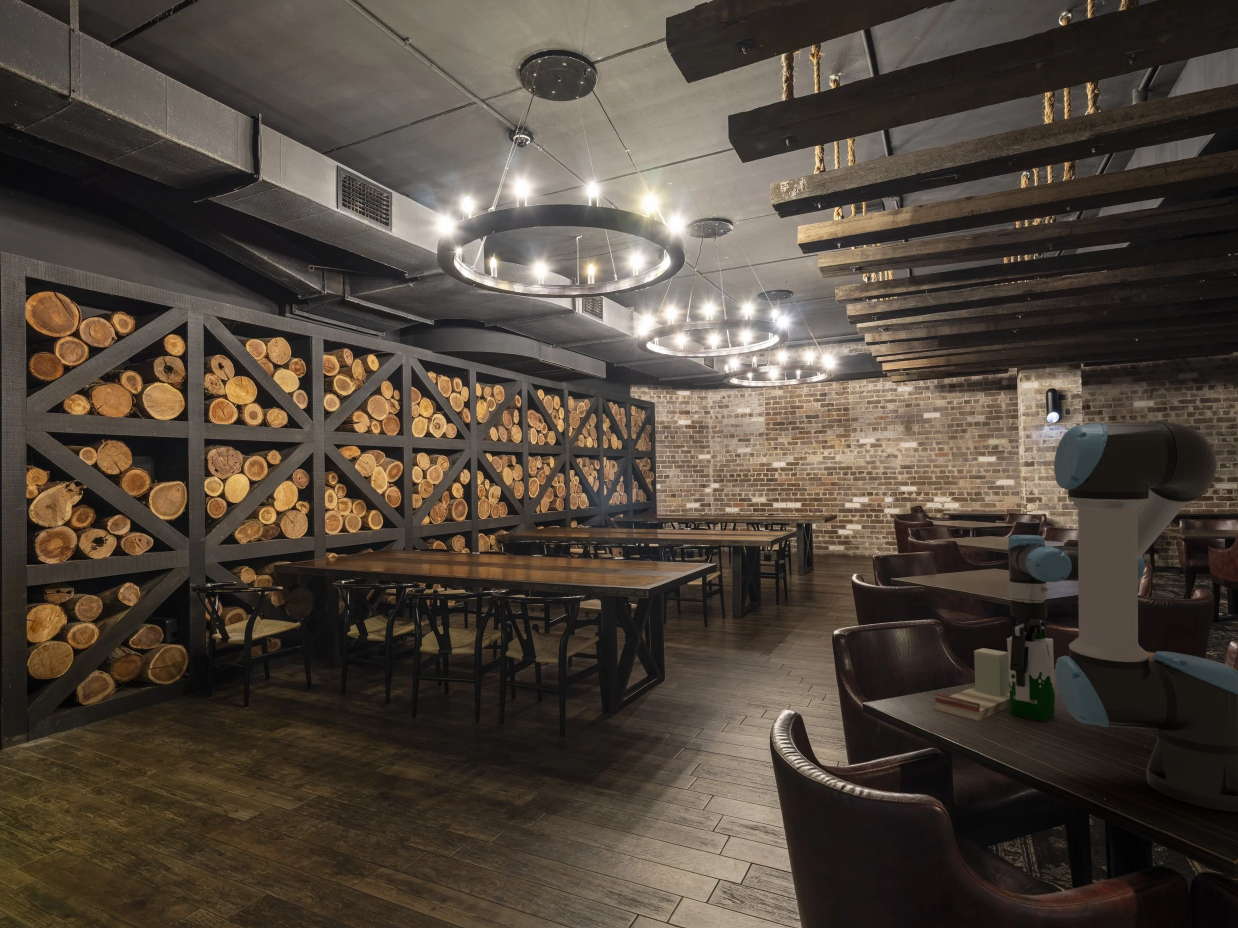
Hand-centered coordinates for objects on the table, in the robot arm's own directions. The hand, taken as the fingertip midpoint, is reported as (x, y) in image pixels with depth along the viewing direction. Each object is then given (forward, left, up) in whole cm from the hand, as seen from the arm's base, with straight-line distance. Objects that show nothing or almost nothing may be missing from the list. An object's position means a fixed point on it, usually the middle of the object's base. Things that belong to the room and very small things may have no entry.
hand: (1031, 696), depth 156 cm
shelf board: (-3, +11, -4) cm, 12 cm away
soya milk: (0, 0, -5) cm, 5 cm away
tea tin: (+5, +11, -2) cm, 12 cm away
